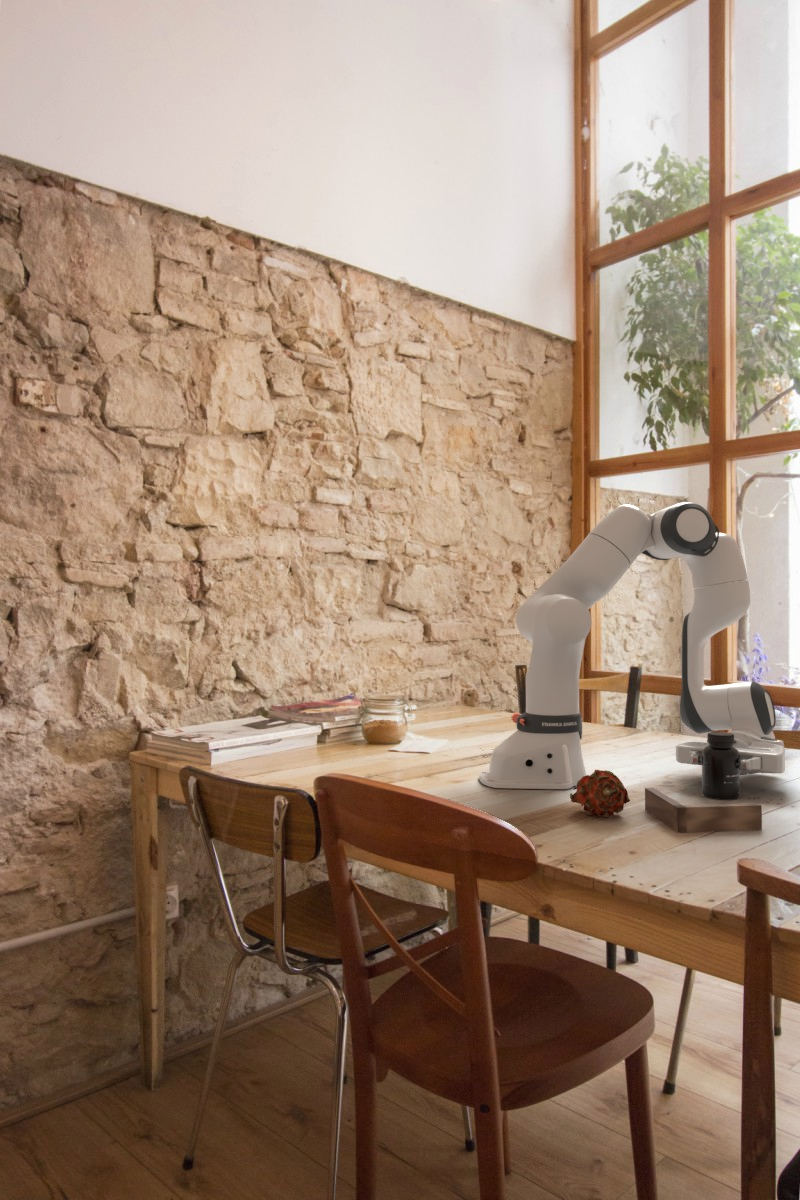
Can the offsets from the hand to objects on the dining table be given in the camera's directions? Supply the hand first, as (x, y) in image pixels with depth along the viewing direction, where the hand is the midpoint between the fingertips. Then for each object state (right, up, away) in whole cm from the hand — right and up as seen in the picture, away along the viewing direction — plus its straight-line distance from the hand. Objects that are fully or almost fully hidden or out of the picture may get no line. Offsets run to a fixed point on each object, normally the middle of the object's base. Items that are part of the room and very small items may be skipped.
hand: (719, 762), depth 163 cm
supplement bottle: (+1, -7, +1) cm, 7 cm away
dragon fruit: (-26, -7, -12) cm, 29 cm away
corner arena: (-9, -6, -17) cm, 20 cm away
